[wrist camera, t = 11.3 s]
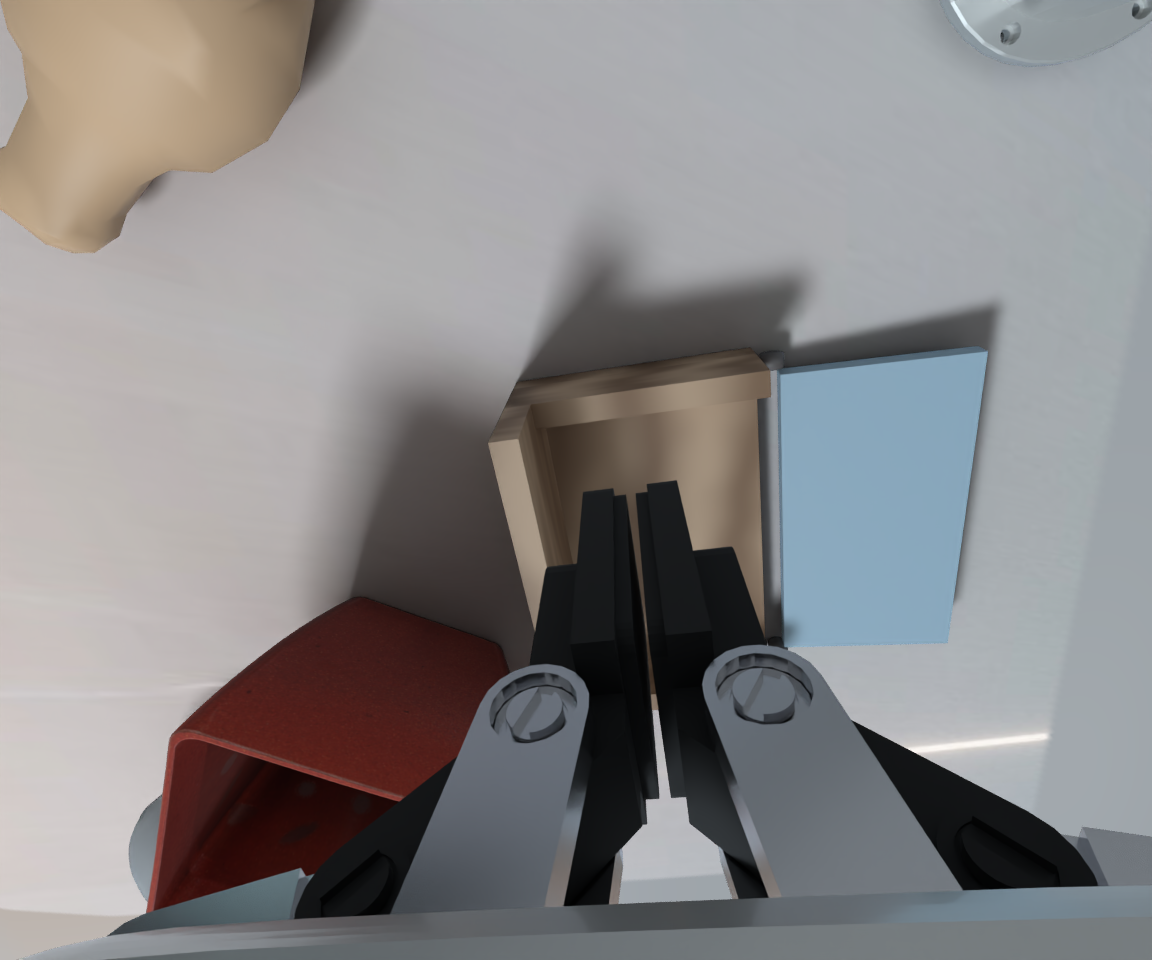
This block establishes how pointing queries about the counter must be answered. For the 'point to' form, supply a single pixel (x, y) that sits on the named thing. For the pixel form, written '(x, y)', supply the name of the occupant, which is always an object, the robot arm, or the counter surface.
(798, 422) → the panel
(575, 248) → the counter surface
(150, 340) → the counter surface
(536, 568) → the box
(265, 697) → the plant pot
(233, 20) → the squash
